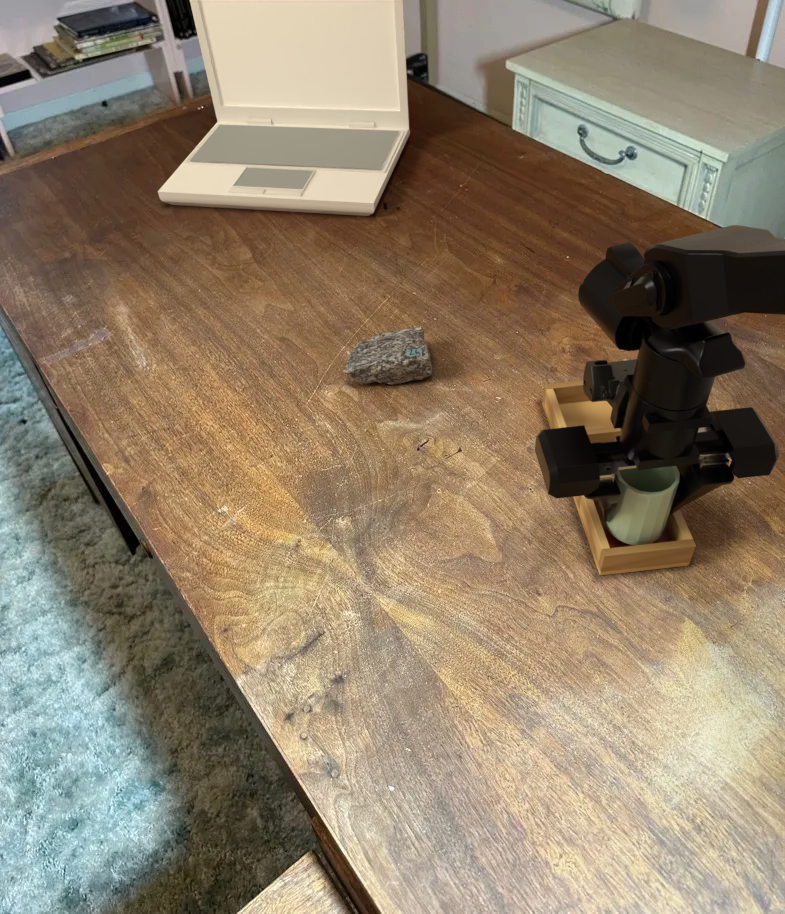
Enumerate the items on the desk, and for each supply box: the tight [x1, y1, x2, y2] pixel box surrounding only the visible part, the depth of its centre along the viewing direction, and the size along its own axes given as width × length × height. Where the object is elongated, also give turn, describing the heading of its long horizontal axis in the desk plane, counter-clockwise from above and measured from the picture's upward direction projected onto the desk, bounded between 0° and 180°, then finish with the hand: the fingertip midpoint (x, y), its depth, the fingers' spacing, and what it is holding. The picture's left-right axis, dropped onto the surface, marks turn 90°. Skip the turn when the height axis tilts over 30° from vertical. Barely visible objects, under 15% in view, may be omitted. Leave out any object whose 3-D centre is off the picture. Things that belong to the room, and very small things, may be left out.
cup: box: [605, 466, 680, 545], centre depth 68 cm, size 5×5×7 cm
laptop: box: [157, 0, 411, 217], centre depth 116 cm, size 35×26×28 cm
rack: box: [541, 379, 697, 576], centre depth 76 cm, size 23×8×3 cm, turn 5°
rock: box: [342, 327, 433, 385], centre depth 89 cm, size 8×10×4 cm
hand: (636, 514), depth 70 cm, fingers closed on cup, 5 cm apart
